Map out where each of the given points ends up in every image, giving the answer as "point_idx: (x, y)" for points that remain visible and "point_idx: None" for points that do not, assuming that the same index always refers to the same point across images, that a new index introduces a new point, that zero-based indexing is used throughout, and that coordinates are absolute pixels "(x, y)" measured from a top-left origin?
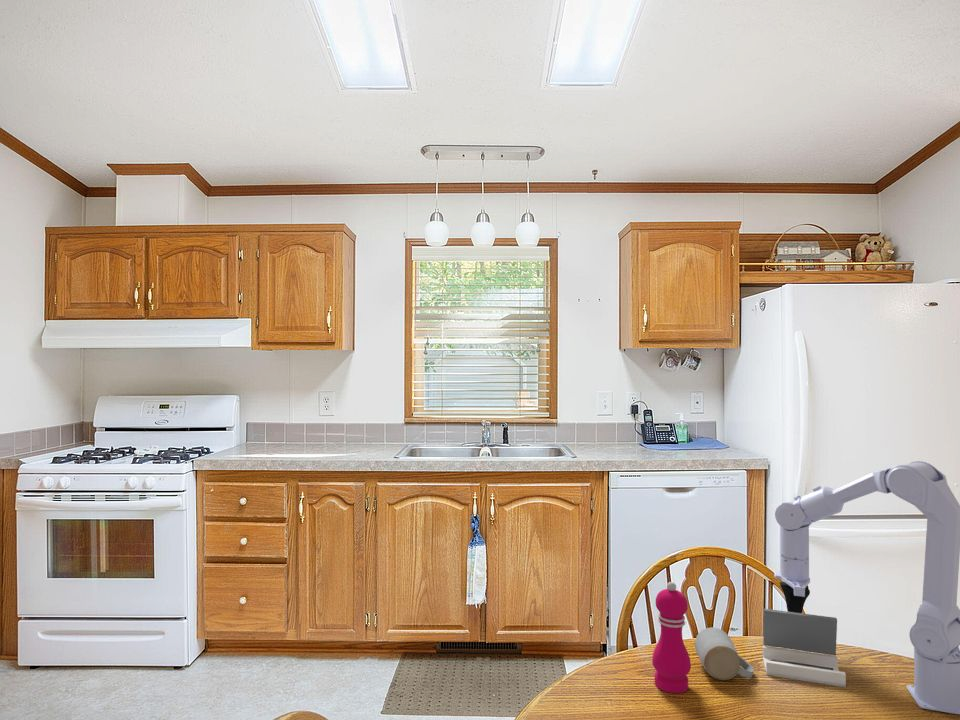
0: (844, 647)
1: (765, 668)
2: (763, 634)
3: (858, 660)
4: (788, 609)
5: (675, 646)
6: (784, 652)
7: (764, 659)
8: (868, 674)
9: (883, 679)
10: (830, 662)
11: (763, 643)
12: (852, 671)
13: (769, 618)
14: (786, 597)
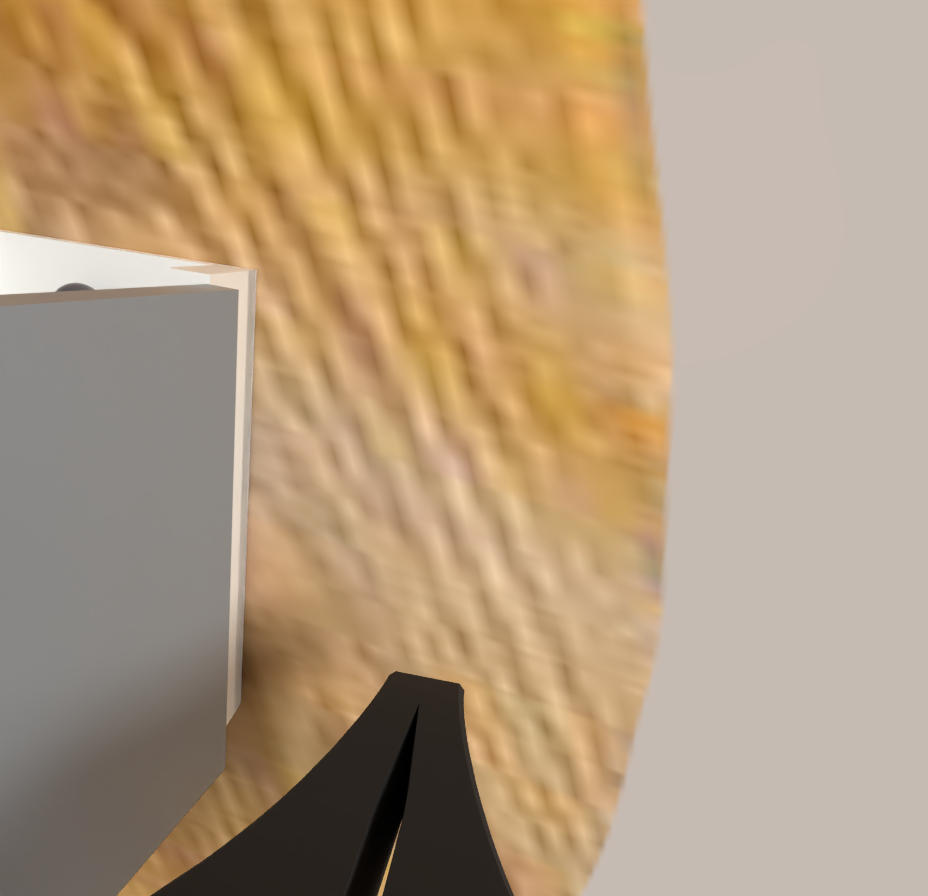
0: (568, 858)
1: (40, 236)
2: (164, 292)
3: (393, 852)
4: (347, 735)
5: None
6: None
7: (168, 264)
8: (224, 825)
9: (190, 864)
10: None
11: (214, 286)
12: (233, 766)
13: None
14: (186, 876)
